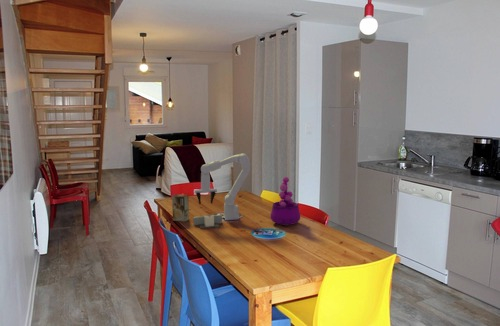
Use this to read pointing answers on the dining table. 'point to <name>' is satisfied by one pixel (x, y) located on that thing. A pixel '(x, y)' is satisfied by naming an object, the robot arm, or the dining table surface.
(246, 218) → the dining table surface
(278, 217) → the decorative plant
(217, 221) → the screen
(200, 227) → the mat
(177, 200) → the coffee box
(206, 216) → the letter block
